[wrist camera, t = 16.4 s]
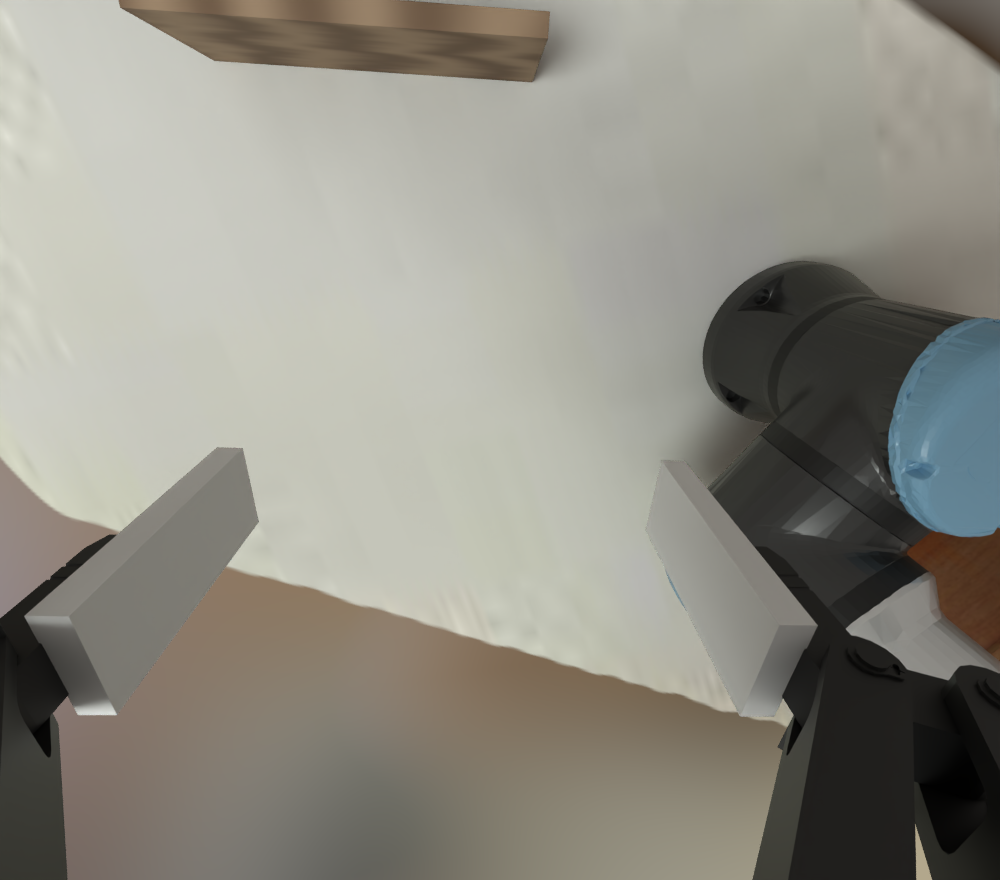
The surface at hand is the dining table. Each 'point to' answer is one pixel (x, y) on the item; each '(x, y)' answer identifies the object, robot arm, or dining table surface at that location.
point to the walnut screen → (358, 35)
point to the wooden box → (966, 582)
